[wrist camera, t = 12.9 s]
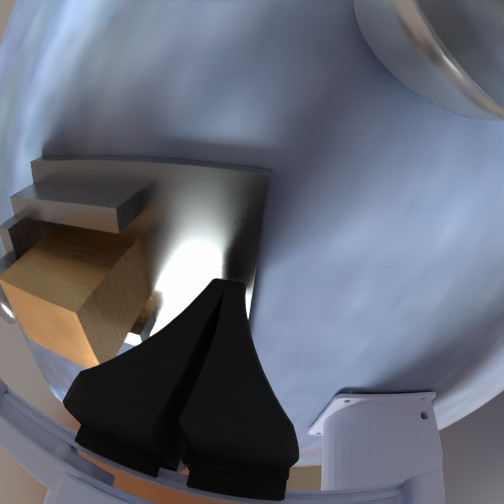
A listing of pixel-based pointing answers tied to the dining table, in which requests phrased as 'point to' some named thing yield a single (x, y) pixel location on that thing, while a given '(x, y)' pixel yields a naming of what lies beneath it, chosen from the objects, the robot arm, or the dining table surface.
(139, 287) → the block
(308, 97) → the dining table surface
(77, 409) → the robot arm
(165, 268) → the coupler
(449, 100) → the plastic bottle
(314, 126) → the dining table surface
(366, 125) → the dining table surface
